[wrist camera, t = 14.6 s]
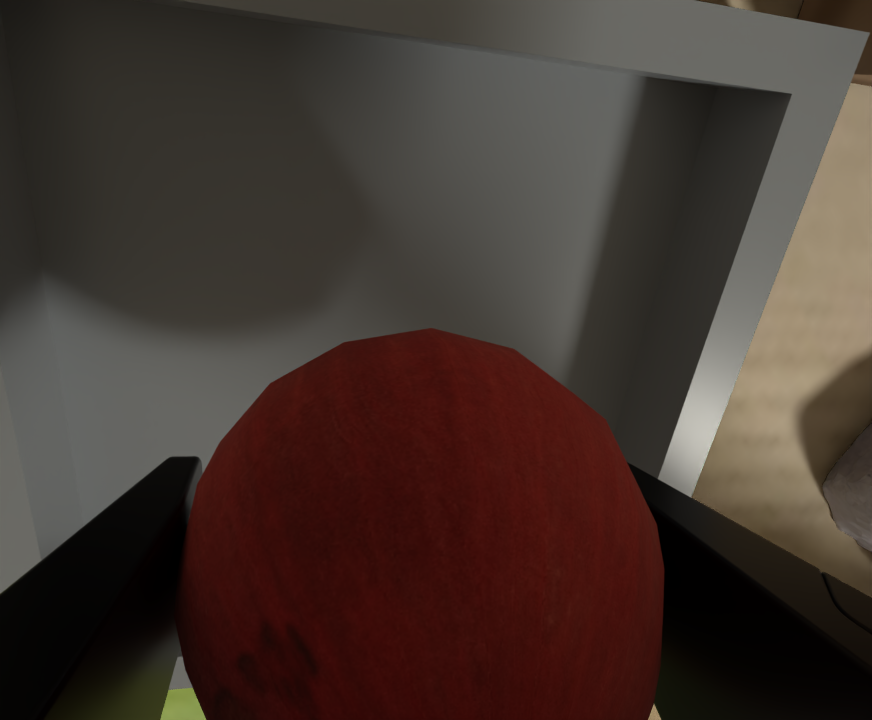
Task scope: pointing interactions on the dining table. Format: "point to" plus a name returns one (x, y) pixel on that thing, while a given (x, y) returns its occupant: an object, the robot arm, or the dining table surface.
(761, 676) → the robot arm
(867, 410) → the dining table surface
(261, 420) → the onion
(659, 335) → the tray
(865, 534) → the stone block
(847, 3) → the bar
